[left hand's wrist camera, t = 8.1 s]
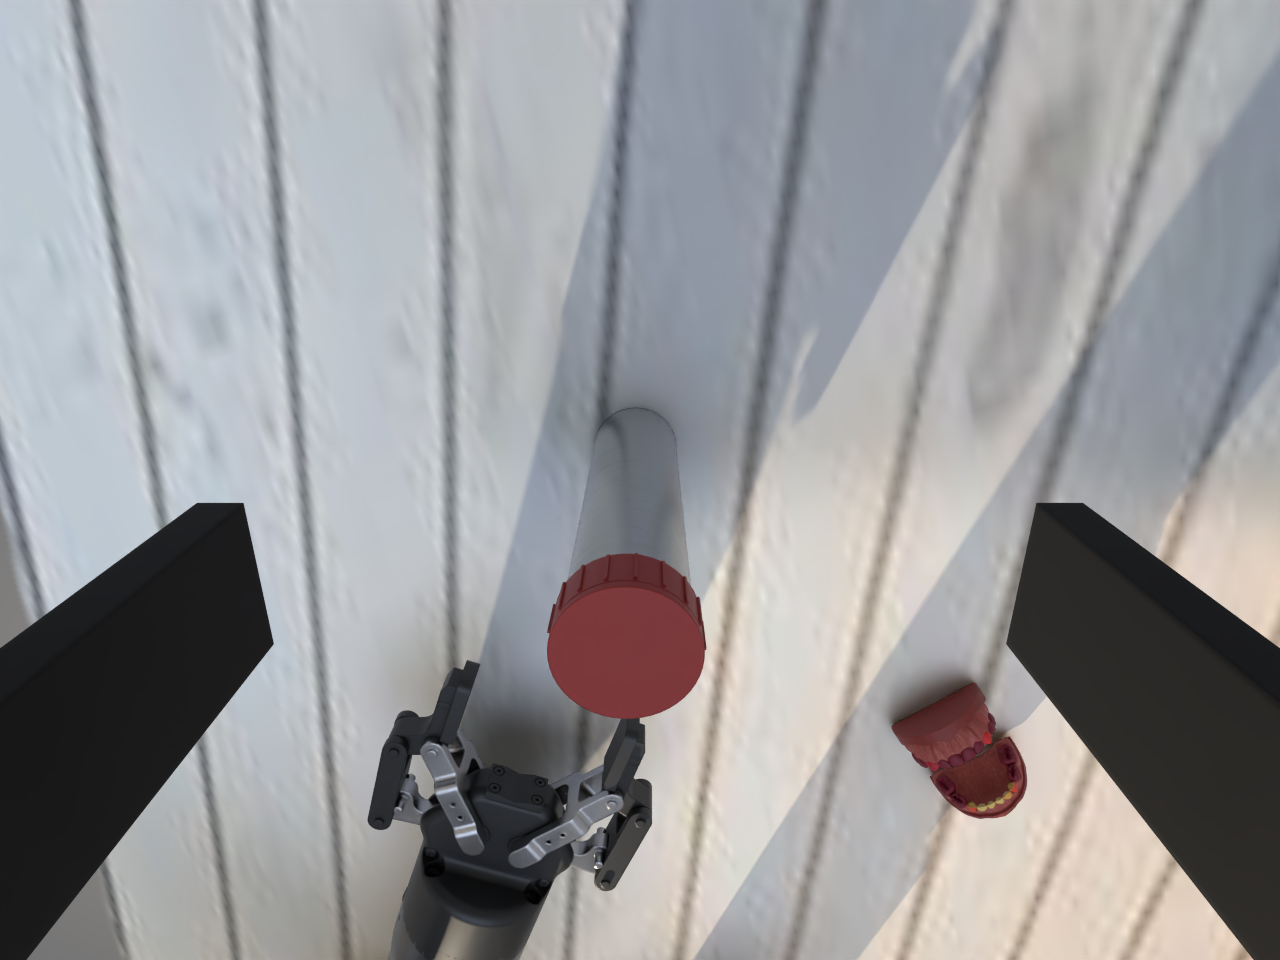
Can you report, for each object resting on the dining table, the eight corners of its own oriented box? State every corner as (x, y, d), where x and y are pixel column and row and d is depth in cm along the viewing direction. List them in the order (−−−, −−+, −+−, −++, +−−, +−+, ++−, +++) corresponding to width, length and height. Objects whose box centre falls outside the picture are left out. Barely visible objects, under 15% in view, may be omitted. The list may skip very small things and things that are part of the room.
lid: (675, 531, 23) (677, 563, 21) (721, 656, 25) (728, 696, 23) (530, 576, 24) (519, 612, 22) (585, 695, 25) (580, 738, 23)
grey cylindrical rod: (661, 396, 38) (670, 567, 22) (686, 469, 40) (714, 682, 23) (583, 422, 39) (534, 609, 22) (611, 494, 40) (585, 719, 24)
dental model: (970, 850, 44) (904, 760, 41) (942, 796, 48) (879, 711, 45) (1059, 804, 43) (996, 710, 40) (1022, 753, 47) (962, 664, 44)
